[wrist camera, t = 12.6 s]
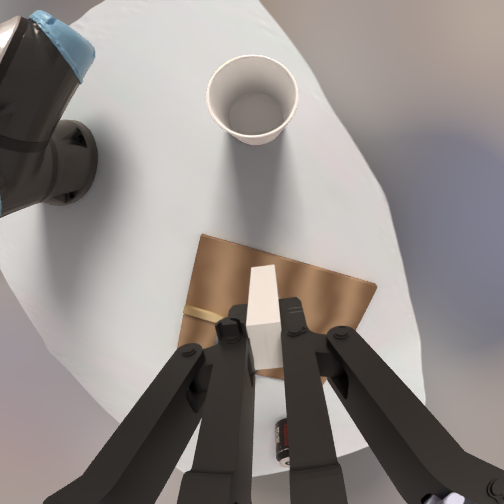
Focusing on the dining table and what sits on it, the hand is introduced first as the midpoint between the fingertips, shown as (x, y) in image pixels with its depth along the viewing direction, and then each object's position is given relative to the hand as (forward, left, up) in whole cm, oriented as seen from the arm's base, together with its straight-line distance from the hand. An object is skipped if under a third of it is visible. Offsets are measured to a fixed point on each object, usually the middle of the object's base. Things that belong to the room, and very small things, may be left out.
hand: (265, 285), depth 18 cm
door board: (+7, -18, -24) cm, 31 cm away
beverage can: (+21, -46, -25) cm, 56 cm away
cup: (-5, +13, -25) cm, 28 cm away
